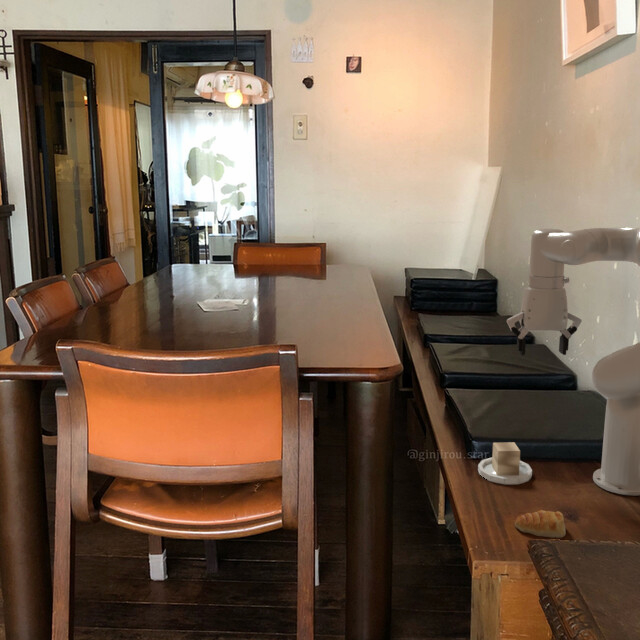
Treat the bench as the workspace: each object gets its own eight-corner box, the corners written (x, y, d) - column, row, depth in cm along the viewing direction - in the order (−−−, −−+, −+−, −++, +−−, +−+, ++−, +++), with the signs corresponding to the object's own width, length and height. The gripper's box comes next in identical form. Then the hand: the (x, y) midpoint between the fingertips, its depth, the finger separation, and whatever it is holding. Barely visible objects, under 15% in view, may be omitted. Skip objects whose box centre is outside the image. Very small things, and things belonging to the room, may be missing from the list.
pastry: (517, 537, 134) (518, 519, 133) (512, 520, 140) (513, 503, 140) (567, 540, 133) (568, 521, 132) (560, 522, 139) (561, 505, 139)
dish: (523, 462, 167) (523, 456, 167) (538, 484, 155) (538, 478, 155) (473, 462, 167) (473, 457, 167) (484, 484, 156) (484, 479, 155)
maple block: (513, 466, 164) (514, 442, 162) (518, 475, 159) (520, 450, 157) (491, 466, 164) (492, 442, 162) (497, 475, 159) (498, 451, 158)
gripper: (577, 279, 164) (573, 349, 168) (504, 280, 164) (501, 350, 168) (589, 284, 157) (584, 357, 161) (512, 285, 157) (509, 358, 161)
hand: (542, 353), depth 164 cm, fingers open, 9 cm apart
